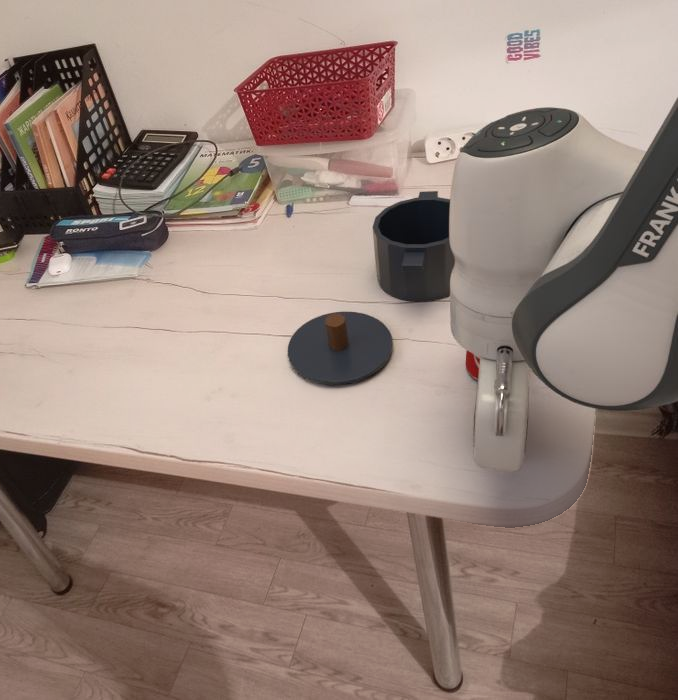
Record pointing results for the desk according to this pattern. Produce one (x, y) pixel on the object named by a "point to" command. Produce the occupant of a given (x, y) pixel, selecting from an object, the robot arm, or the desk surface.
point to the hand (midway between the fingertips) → (500, 421)
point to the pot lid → (340, 347)
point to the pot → (414, 248)
